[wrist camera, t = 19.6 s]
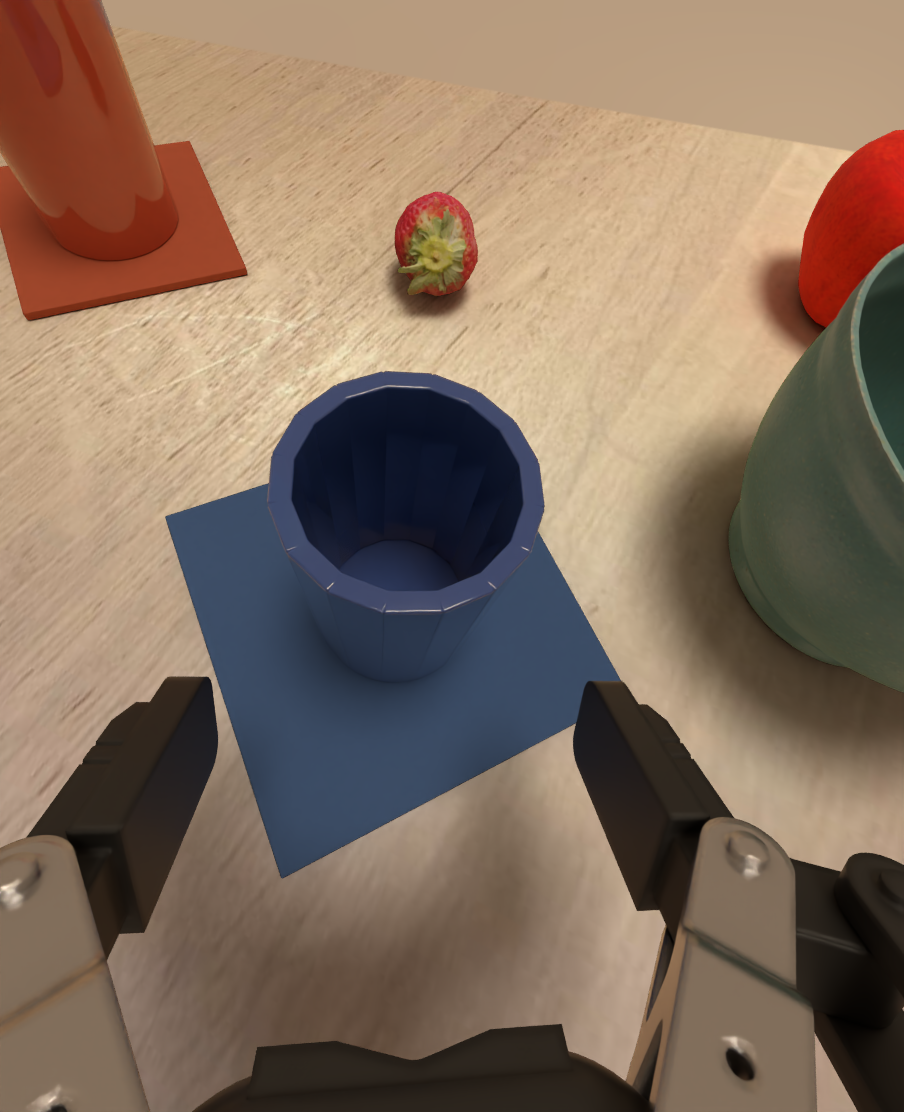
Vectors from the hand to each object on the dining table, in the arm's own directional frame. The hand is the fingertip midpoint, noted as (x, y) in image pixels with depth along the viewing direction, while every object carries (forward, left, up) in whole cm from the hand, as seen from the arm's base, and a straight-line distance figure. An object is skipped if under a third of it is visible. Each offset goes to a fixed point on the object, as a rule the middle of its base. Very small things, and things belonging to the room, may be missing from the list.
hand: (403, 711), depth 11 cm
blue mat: (+2, +4, -9) cm, 10 cm away
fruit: (+11, +20, -9) cm, 25 cm away
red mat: (-3, +28, -9) cm, 30 cm away
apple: (+33, +11, -9) cm, 36 cm away
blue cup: (+2, +4, -8) cm, 10 cm away
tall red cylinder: (-3, +28, -8) cm, 30 cm away
